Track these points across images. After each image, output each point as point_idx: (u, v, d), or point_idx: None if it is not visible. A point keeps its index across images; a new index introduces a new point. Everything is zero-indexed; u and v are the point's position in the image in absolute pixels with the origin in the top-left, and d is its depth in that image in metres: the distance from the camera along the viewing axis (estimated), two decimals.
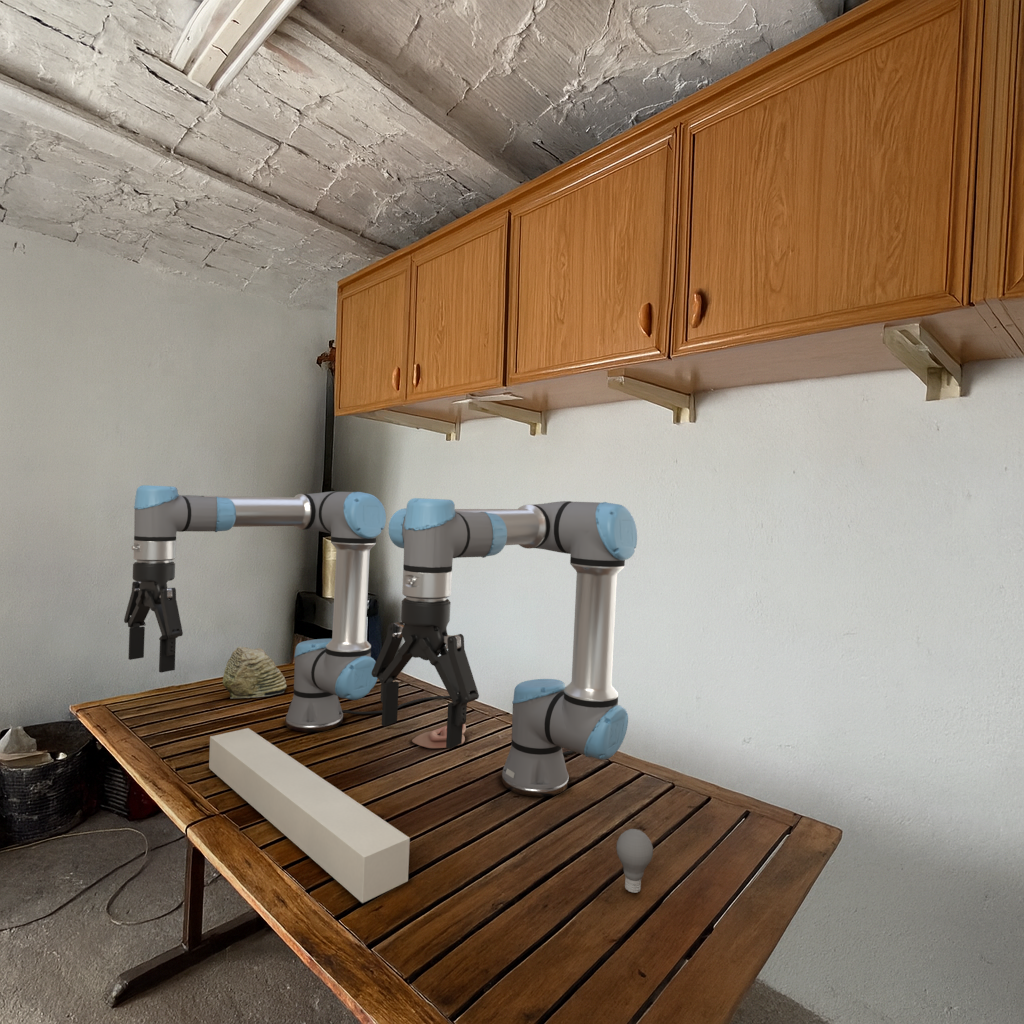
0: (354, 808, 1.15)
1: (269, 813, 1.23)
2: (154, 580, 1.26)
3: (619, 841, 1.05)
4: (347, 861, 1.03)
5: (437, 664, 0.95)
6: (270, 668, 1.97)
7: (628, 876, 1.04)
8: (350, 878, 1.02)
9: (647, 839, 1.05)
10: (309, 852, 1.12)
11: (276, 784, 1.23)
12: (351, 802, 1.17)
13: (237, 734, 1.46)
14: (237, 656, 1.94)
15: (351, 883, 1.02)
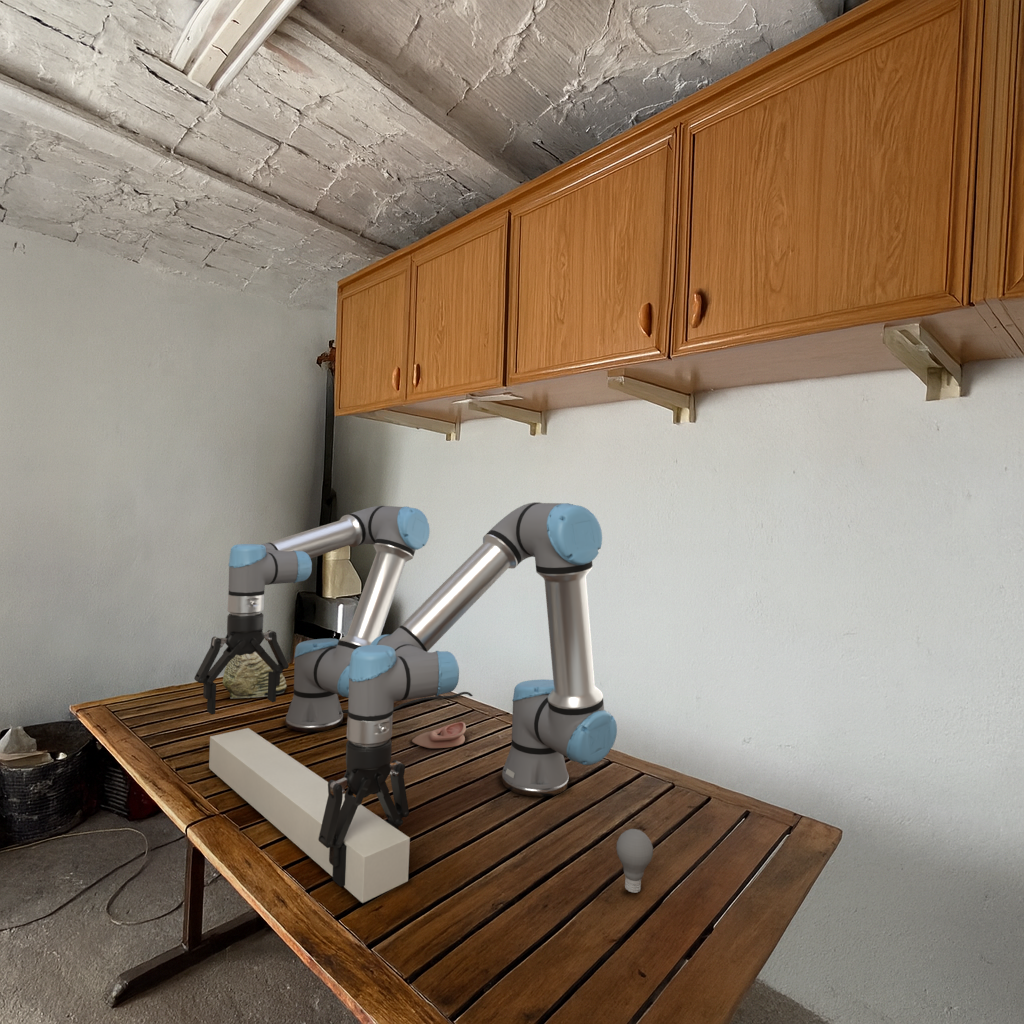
0: None
1: (269, 813, 1.23)
2: None
3: (619, 841, 1.05)
4: (347, 860, 1.03)
5: (386, 794, 1.08)
6: (270, 668, 1.97)
7: (628, 876, 1.04)
8: (350, 878, 1.02)
9: (647, 839, 1.05)
10: (309, 852, 1.12)
11: (276, 784, 1.23)
12: None
13: (237, 734, 1.46)
14: (237, 656, 1.94)
15: (351, 883, 1.02)
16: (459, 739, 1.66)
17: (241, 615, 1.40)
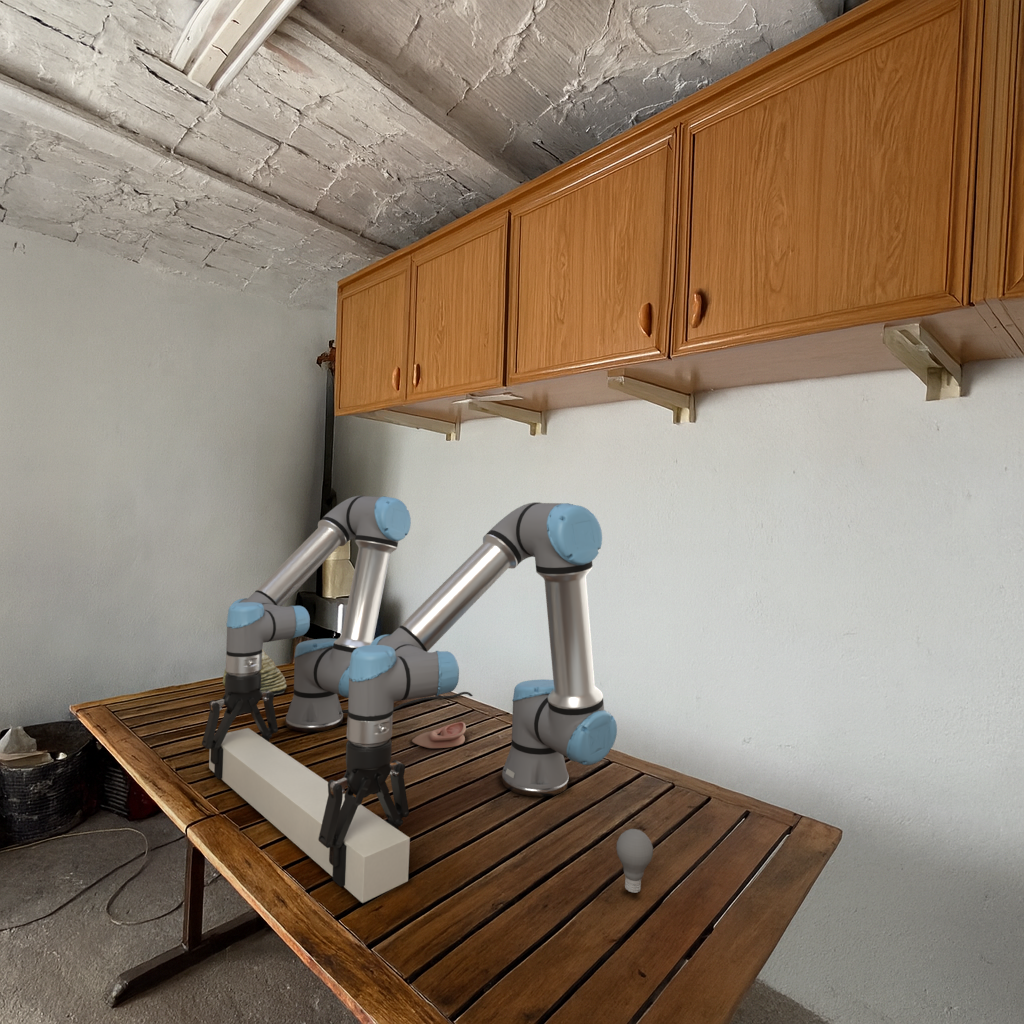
0: None
1: (269, 813, 1.23)
2: (260, 686, 1.45)
3: (619, 841, 1.05)
4: (347, 860, 1.03)
5: (386, 794, 1.08)
6: (270, 668, 1.97)
7: (628, 876, 1.04)
8: (350, 878, 1.02)
9: (647, 839, 1.05)
10: (309, 852, 1.12)
11: (276, 784, 1.23)
12: None
13: (237, 734, 1.46)
14: None
15: (351, 883, 1.02)
16: (459, 739, 1.66)
17: (239, 675, 1.40)
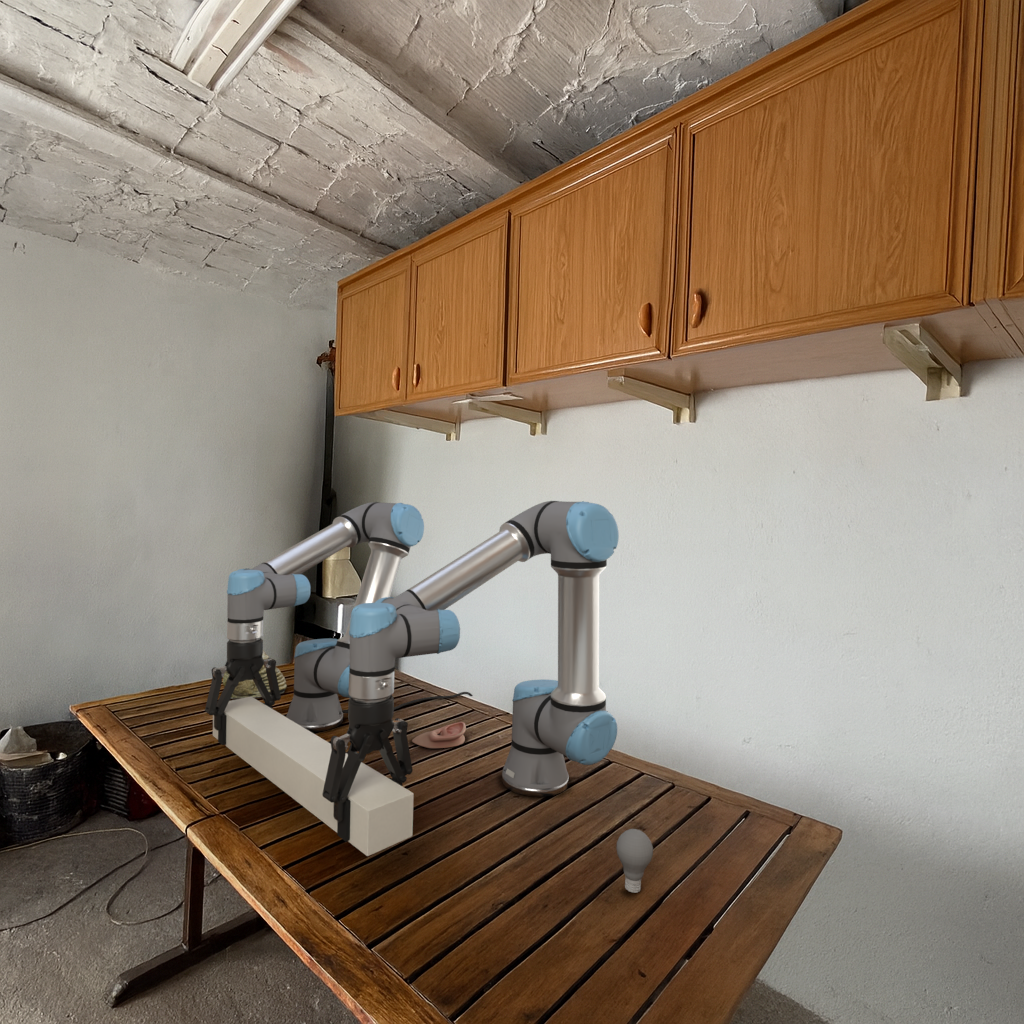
0: None
1: (273, 775, 1.23)
2: (262, 653, 1.45)
3: (619, 841, 1.05)
4: (352, 816, 1.03)
5: (389, 751, 1.09)
6: None
7: (628, 876, 1.04)
8: (354, 832, 1.02)
9: (647, 839, 1.05)
10: (314, 810, 1.12)
11: (280, 746, 1.23)
12: None
13: (240, 702, 1.47)
14: None
15: (355, 838, 1.02)
16: (459, 739, 1.66)
17: (240, 642, 1.40)
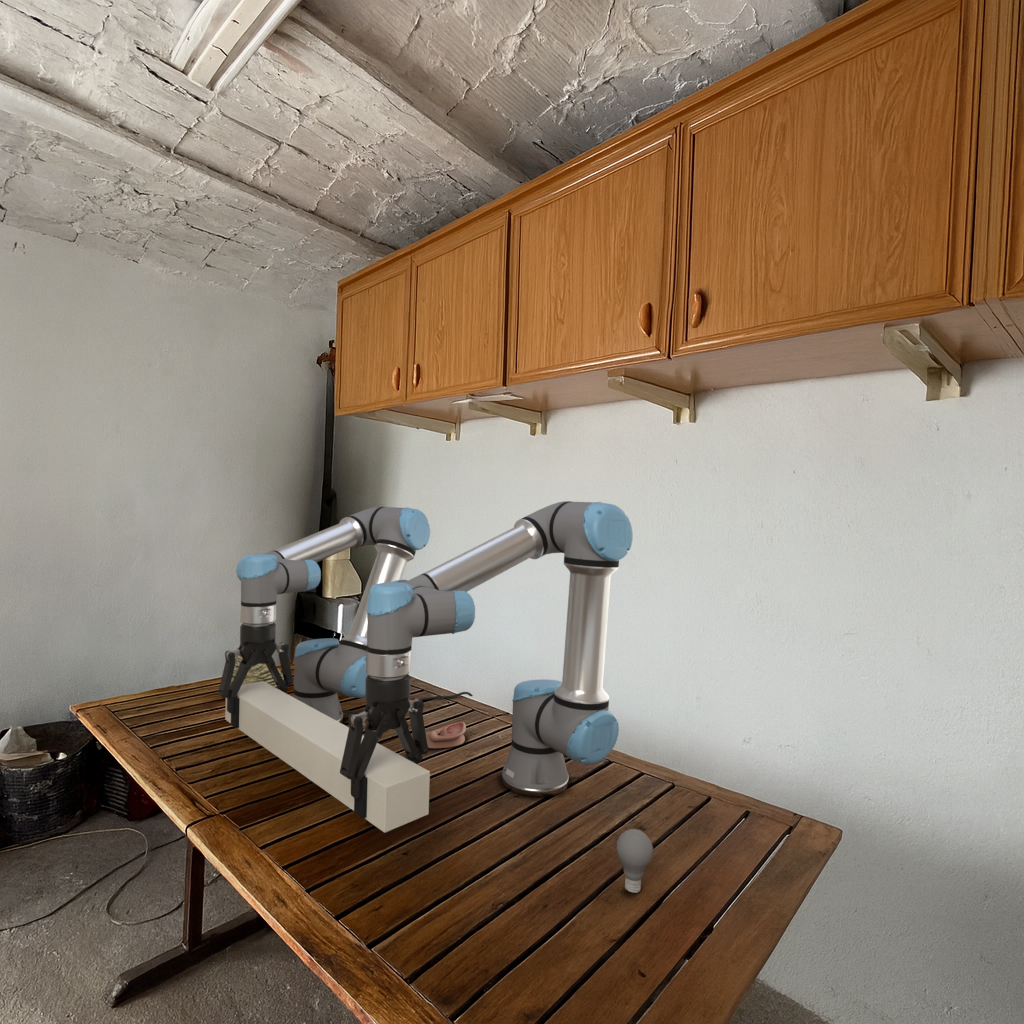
0: None
1: (287, 756, 1.24)
2: (275, 637, 1.45)
3: (619, 841, 1.05)
4: (369, 793, 1.04)
5: (405, 730, 1.09)
6: None
7: (628, 876, 1.04)
8: (371, 809, 1.03)
9: (647, 839, 1.05)
10: (329, 789, 1.12)
11: (294, 727, 1.23)
12: None
13: (252, 686, 1.47)
14: None
15: (372, 815, 1.03)
16: (459, 739, 1.66)
17: (254, 626, 1.41)
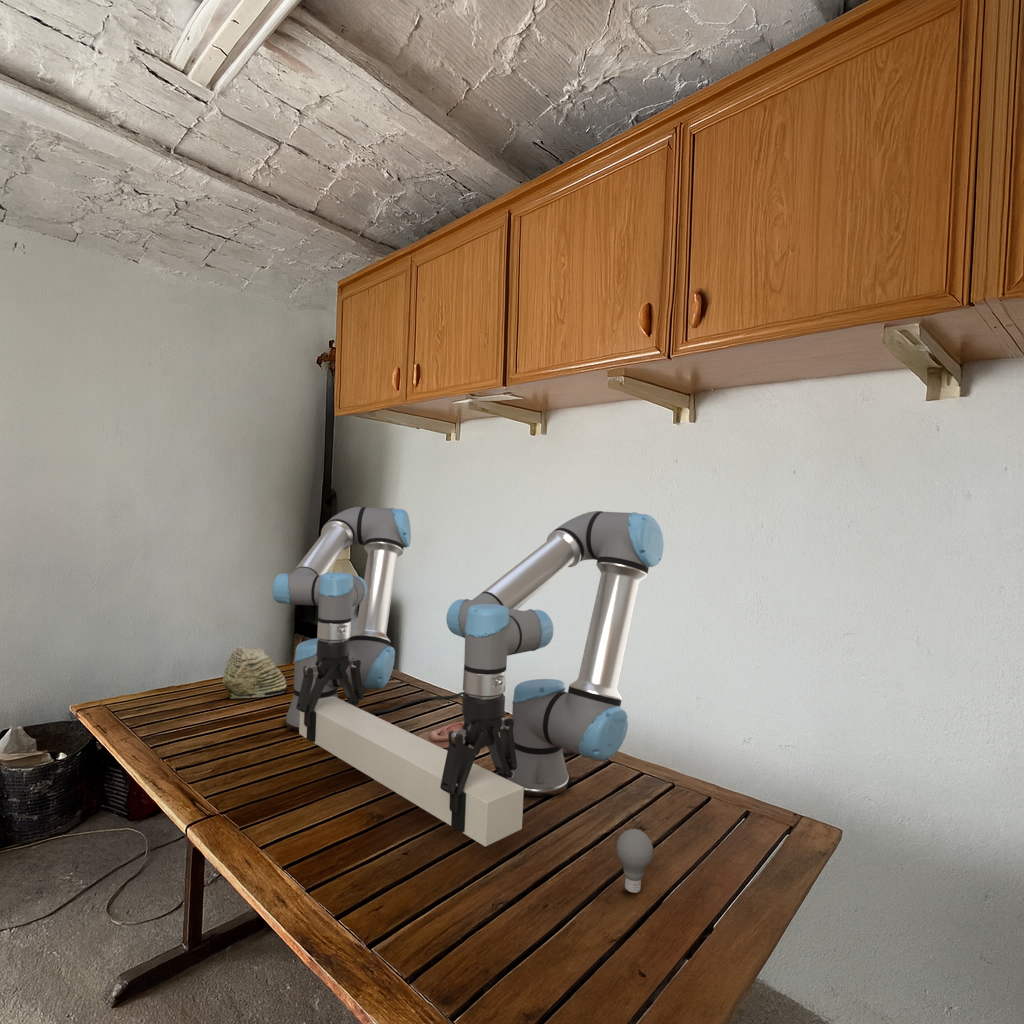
0: None
1: (372, 770, 1.28)
2: None
3: (619, 841, 1.05)
4: (467, 808, 1.07)
5: (498, 747, 1.13)
6: (270, 668, 1.97)
7: (628, 876, 1.04)
8: (470, 824, 1.07)
9: (647, 839, 1.05)
10: (421, 804, 1.16)
11: (380, 742, 1.27)
12: None
13: (325, 701, 1.51)
14: (237, 656, 1.94)
15: (471, 829, 1.07)
16: None
17: (331, 642, 1.45)
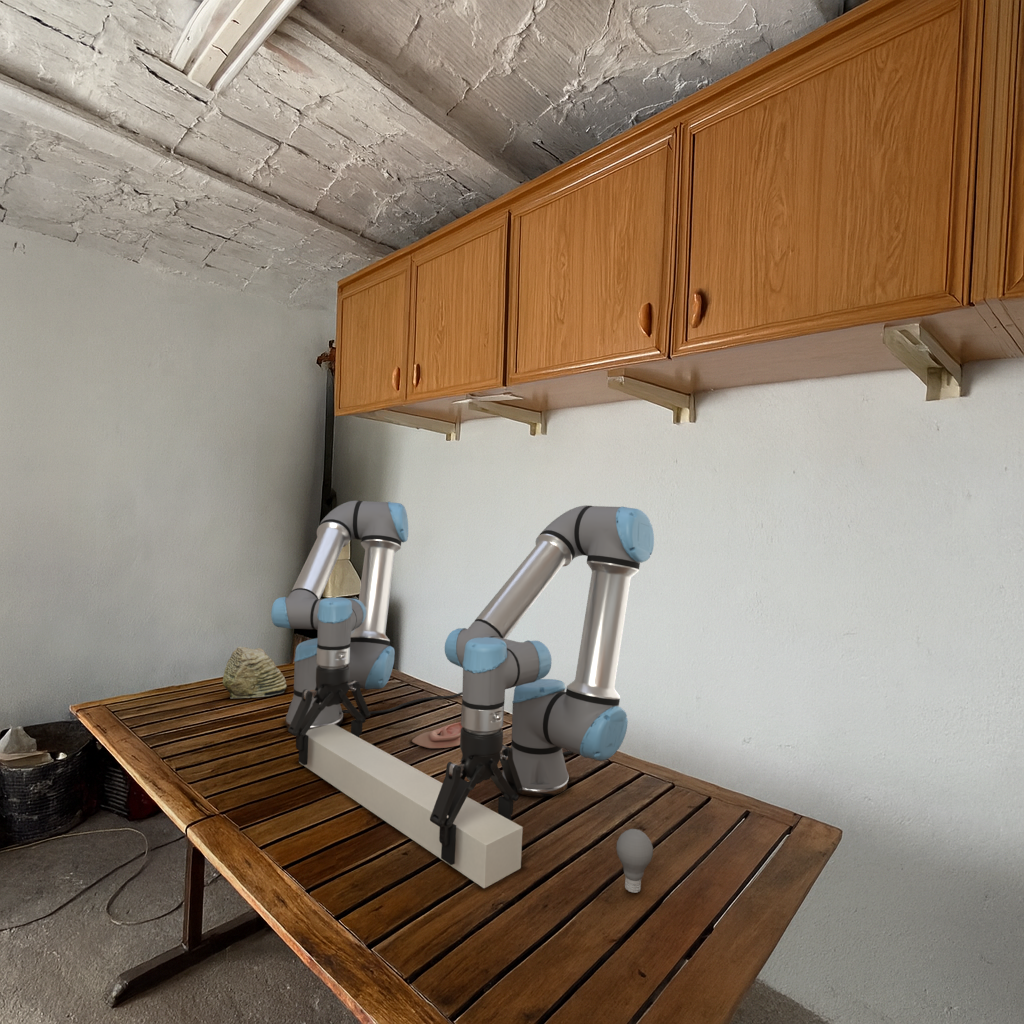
0: None
1: (372, 804, 1.28)
2: None
3: (619, 841, 1.05)
4: (466, 848, 1.08)
5: (499, 777, 1.14)
6: (270, 668, 1.97)
7: (628, 876, 1.04)
8: (469, 865, 1.07)
9: (647, 839, 1.05)
10: (420, 841, 1.17)
11: (379, 777, 1.28)
12: None
13: (325, 730, 1.52)
14: (237, 656, 1.94)
15: (470, 870, 1.07)
16: (459, 739, 1.66)
17: (330, 668, 1.45)
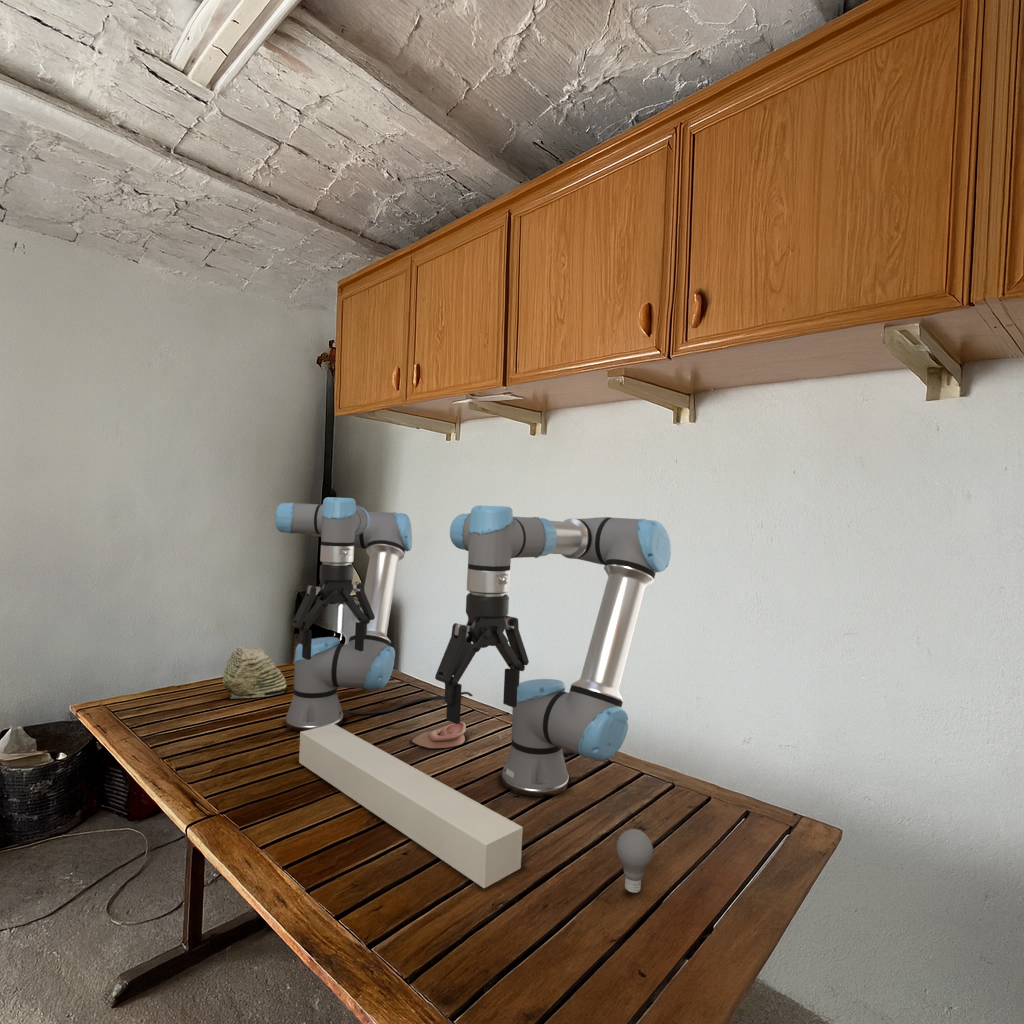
0: (461, 799, 1.20)
1: (372, 804, 1.28)
2: None
3: (619, 841, 1.05)
4: (466, 848, 1.08)
5: (505, 645, 1.13)
6: (270, 668, 1.97)
7: (628, 876, 1.04)
8: (469, 865, 1.07)
9: (647, 839, 1.05)
10: (420, 841, 1.17)
11: (379, 777, 1.28)
12: (456, 794, 1.22)
13: (325, 730, 1.52)
14: (237, 656, 1.94)
15: (470, 870, 1.07)
16: (459, 739, 1.66)
17: (334, 565, 1.45)
